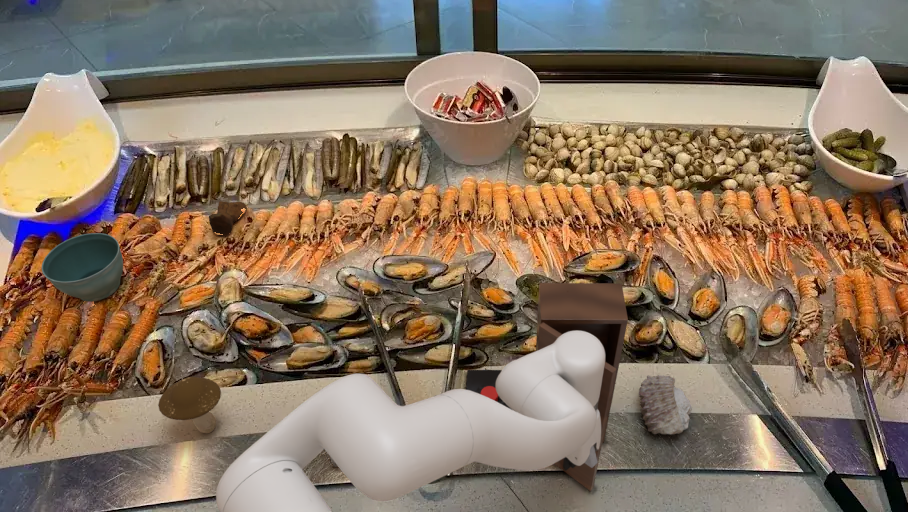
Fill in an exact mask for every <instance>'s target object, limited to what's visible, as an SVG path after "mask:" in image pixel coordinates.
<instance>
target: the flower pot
mask: <svg viewBox="0 0 908 512" xmlns="http://www.w3.org/2000/svg"><path fill="white" fill-rule="evenodd" d="M41 272H42V275H43V276H44V277H45V278H46V279H47V280H48V281H49V282H50V283H51V284H52V286H54V287H55V288H56V289H57V290H58V291H60V292H61V293H64V294H65V295H67V296H70V297H73V298H77V299H79V300H81V301H84V302H87V303H88V302H98V301H101V300H105V299H106V298H109V297H110V296H112V295H113V294H114V293H115V292H117V290H118V289H119V287H120V285H121V278H122V275H123V272H124V258H123V254H122V251H121V246H120V244H119V241H118V240H117V239H116V238H115V237H114V236H113V235H111V234H107V233H101V232H91V233H89V232H88V233H83V234H80V235H75V236H73V237H71V238H68V239H66V240H64V241H63V242H61V243H59V244H57V245H56V246H55V247H53V248H52V249H51V250H50V251H49V252H48V253H47V254H46V255H45V257H44V259H43V261H42V263H41Z"/></svg>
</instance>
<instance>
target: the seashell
mask: <svg viewBox="0 0 908 512" xmlns="http://www.w3.org/2000/svg"><path fill="white" fill-rule="evenodd" d="M675 383H676V378H675V377H672V376H670V375H659V374H657V375H654V376H651V375H647V376H646V379H644V380H643V381H642V382H641V383H640V387H639V390H638V397H639V399H640V401H639V407H640V408H641V409H640V413H641V414H642V415H643V416H642V419H643V420H644V425H645V426H646V427H647V431H648V432H651V433H652V434H653V435H657V434H661V435H676V434H678V435H679V434H681V433H683V431H685V430H687V429H689V424H690V423H689V422H690V420H691V418H690V415H691V413H692V412H691V411H692V410H693V406H692V404H691V401H690V400H689V398H688V397H687V396H686V395H685V392H684V391H683V389H681V388H679V387H676V385H675Z"/></svg>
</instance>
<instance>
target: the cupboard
mask: <svg viewBox="0 0 908 512" xmlns="http://www.w3.org/2000/svg"><path fill="white" fill-rule="evenodd" d="M537 301H538V303H537V321H536V339H535V340H536V341H535V351H538V340H539V326H540V325H541V324H542V323H543V322H544V323H545V324H547V325H548V326H550V327H551V328H553V329H555V330H556V331H558V332H559V333H561V334H564V333H566V332H569V331H576V330H578V331H585V332H588V333H590V334H592V335H594V336H595V337H596V338H597V339H598V340H599V341H600V342H601V344H602V345H603V347H604V350H605V362H606V363H608V364H610V365H611V366H613V367H614V368H616V374H615V379H614V384H613V389H612V394H611V400H610V405H609V410H608V415H607V420H606V426H605V431H604V436H603V441H602V444H603V443H605V439H606V434H607V428H608V424H609V418H610V414H611V409H612V403H613V398H614V393H615V388H616V382H617V378H618V371H619V368H620V362H621V357H622V351H623V347H624V341H625V337H626V333H627V332H626V331H627V326H628V321H629V318H628V312H627V308H626V301H625V294H624V288H623V283H621V282H620V283H617V282H615V283H611V282H610V283H608V282H607V283H606V282H605V283H601V282H600V283H598V282H593V283H592V282H589V283H588V282H572V283H571V282H539V283H538V300H537Z"/></svg>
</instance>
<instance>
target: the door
mask: <svg viewBox="0 0 908 512" xmlns="http://www.w3.org/2000/svg"><path fill="white" fill-rule="evenodd" d="M561 335H562V334H561V333H559V332H558V331H556V330H555V329H553V328H551V327H550V326H548V325H547V324H545V323H544V322H543V323H542V324H541V325H540V326H539V340H538V350H540V349H542V348H545V347H547V346H549V345H551V344H553V343H554V342H555V341H556V340H557V338H558V337H560V336H561ZM615 374H616V368H614V367H613V366H611V365H610V364H608V363H606V362H605V365H604V371H603V377H602V384H601V390H600V396H599V402H598V408H597V409H598V410H599V412H600V419H601V441H600V446H599V449H598V451H595V453H596V457H597V461H598V463H597V464H596V465H595V466H594V467H593V468H591V467H589V466H588V465H587V464H585V463H583V464H582V465H581V466H578V465H576V466H575V467H574V468H572V467H570V468H569V469H568V470H566V471H565V470H564V469H563V461H564V458H563V459H561V460H560V461H558V462H556V463H554V464H553V465H555V466H556V467H558V469H560V470H561V471H563V472H564V473H565V474H567V475H568V476H570V477H571V478H572V479H574V480H575V481H576V482H577V483H579V484H580V485H581V486H583V487H584V488H585V489H587V490H588V491H589V492H592V491H593V490H594V487H595V482H596V478H597V472H598V468H599V461H600V456H601V453H602V451H601V450H602V447H603V443H602V441H603V436H604V431H605V426H606V420H607V415H608V410H609V405H610V400H611V394H612V389H613V384H614V379H615Z"/></svg>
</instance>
